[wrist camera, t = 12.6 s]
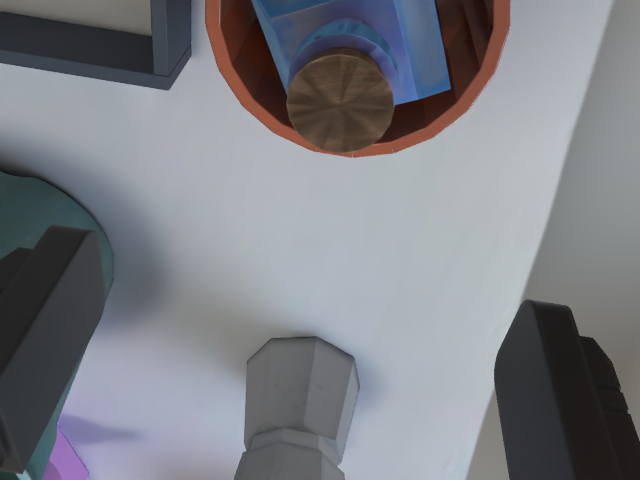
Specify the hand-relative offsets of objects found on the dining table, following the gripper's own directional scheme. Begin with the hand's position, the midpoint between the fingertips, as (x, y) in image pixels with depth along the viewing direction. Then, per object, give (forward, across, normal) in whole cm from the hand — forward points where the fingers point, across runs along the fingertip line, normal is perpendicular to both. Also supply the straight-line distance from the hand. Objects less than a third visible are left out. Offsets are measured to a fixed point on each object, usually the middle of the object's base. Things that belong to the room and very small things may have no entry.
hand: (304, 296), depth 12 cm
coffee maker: (+21, -1, +30) cm, 37 cm away
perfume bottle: (+20, 0, 0) cm, 20 cm away
